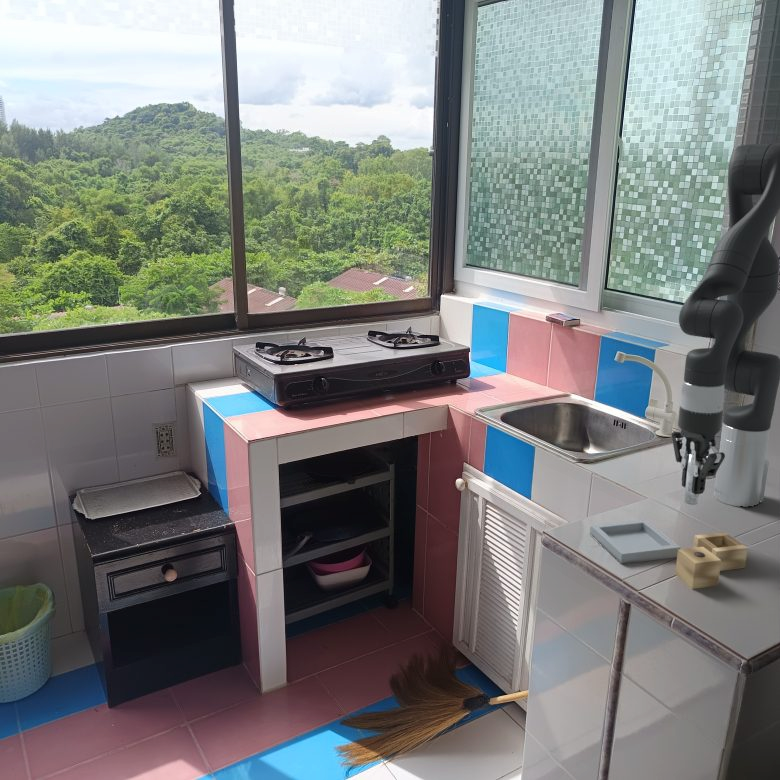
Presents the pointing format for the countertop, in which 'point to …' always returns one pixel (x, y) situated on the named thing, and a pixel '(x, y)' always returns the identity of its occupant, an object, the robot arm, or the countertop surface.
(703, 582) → the block
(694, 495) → the cylinder
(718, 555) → the oak block
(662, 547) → the tray
